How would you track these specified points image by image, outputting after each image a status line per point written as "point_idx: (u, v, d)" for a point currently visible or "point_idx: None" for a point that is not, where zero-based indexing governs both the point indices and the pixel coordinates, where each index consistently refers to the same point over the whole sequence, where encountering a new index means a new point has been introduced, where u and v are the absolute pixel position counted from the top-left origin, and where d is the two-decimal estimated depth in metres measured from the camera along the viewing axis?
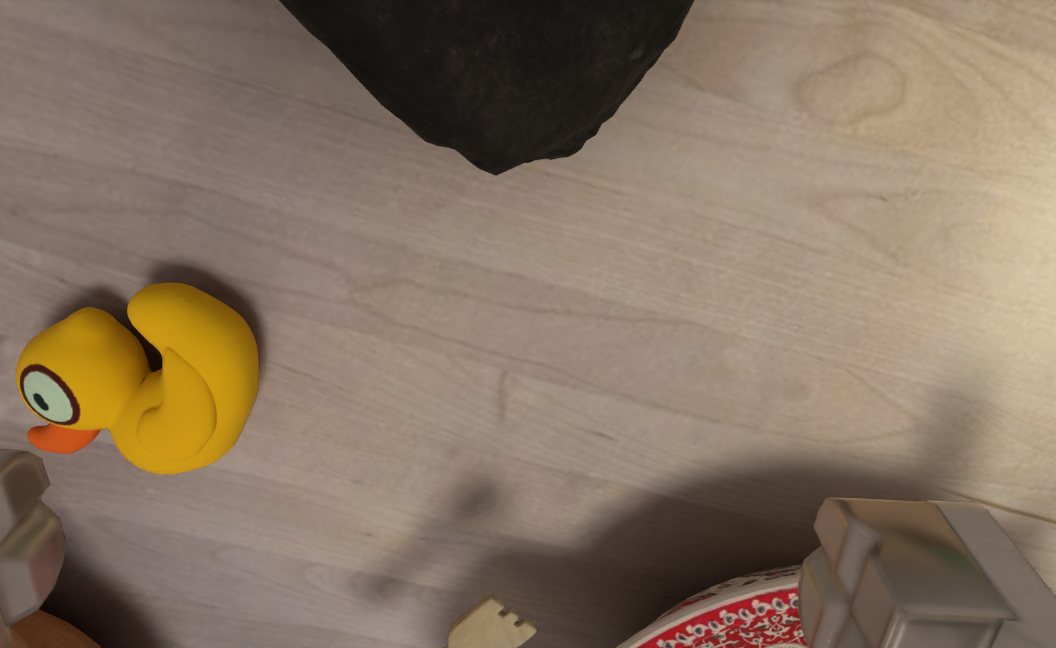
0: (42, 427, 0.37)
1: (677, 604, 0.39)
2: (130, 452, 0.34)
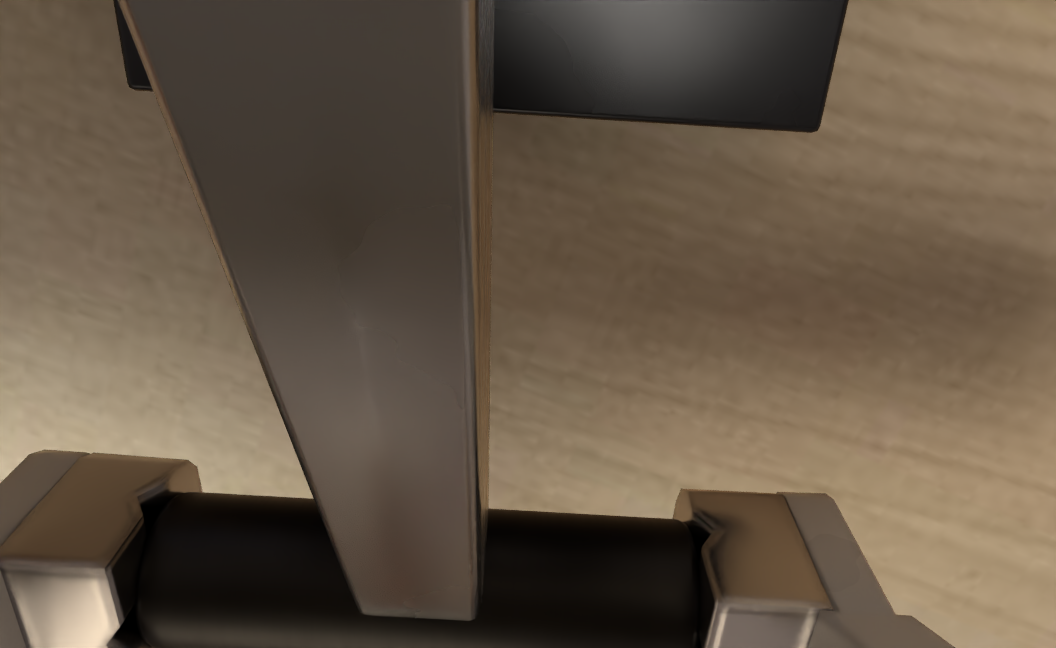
0: None
1: None
2: None
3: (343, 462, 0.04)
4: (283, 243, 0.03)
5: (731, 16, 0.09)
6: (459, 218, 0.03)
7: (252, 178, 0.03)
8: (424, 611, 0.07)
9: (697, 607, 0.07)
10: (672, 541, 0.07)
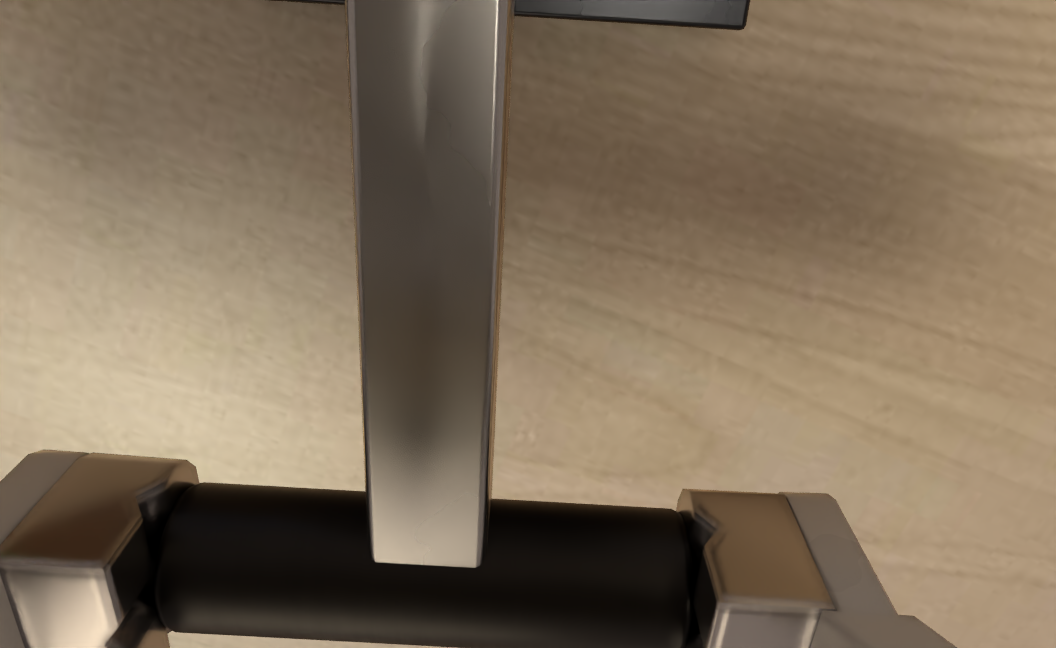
0: None
1: None
2: None
3: (393, 282, 0.06)
4: (392, 26, 0.05)
5: None
6: (500, 2, 0.05)
7: None
8: (432, 554, 0.07)
9: (688, 555, 0.07)
10: (660, 511, 0.08)
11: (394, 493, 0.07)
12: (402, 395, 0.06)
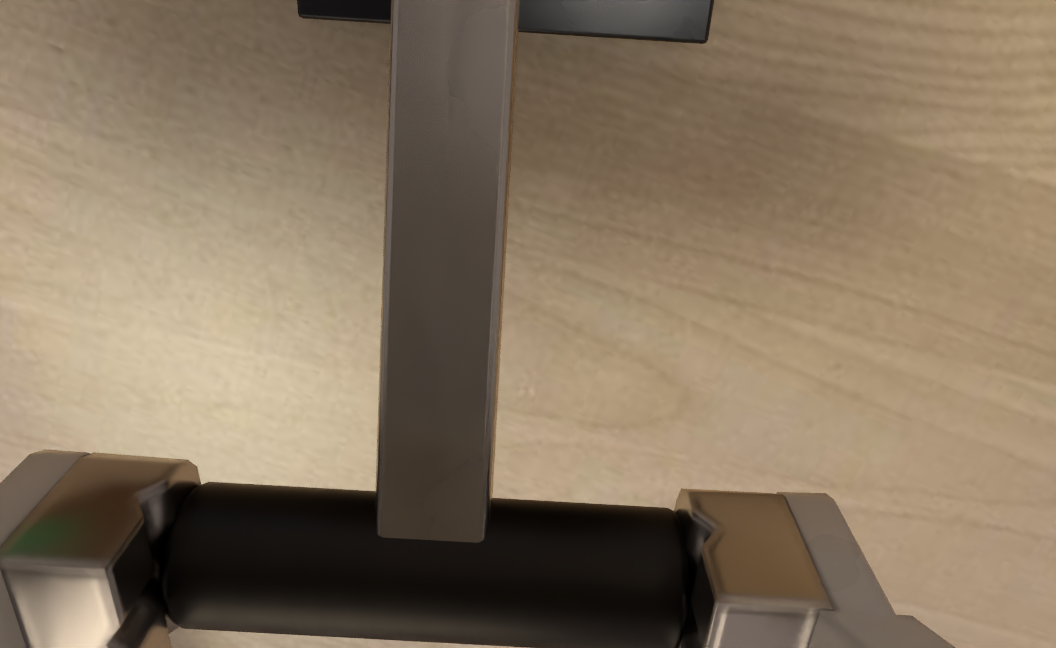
0: None
1: None
2: None
3: (415, 244, 0.07)
4: (427, 34, 0.07)
5: None
6: (508, 15, 0.07)
7: None
8: (437, 526, 0.07)
9: (681, 533, 0.07)
10: None
11: (404, 458, 0.07)
12: (417, 354, 0.07)
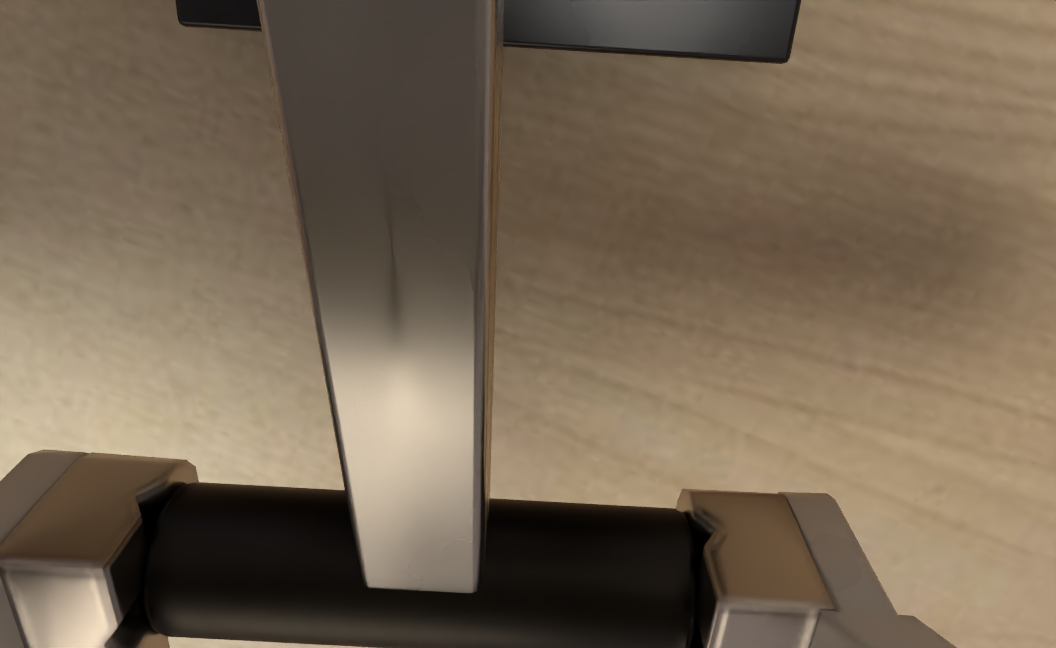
0: None
1: None
2: None
3: (364, 365, 0.05)
4: (336, 99, 0.04)
5: None
6: (481, 68, 0.04)
7: (316, 29, 0.03)
8: (427, 583, 0.07)
9: (694, 579, 0.07)
10: (667, 520, 0.07)
11: (382, 538, 0.06)
12: (383, 462, 0.06)
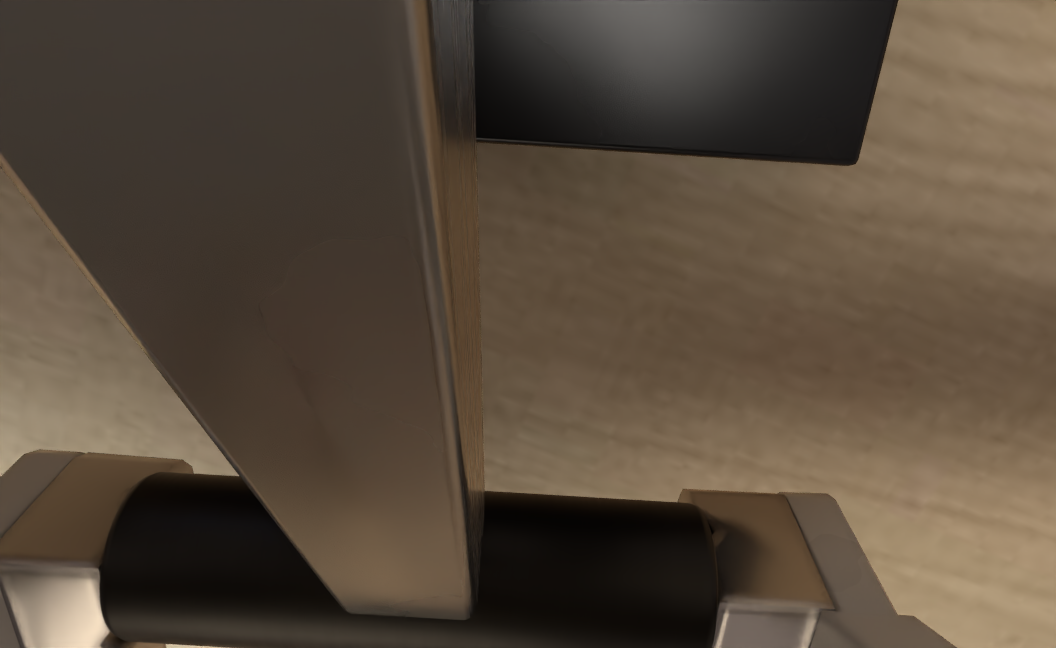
0: None
1: None
2: None
3: (303, 495, 0.04)
4: (177, 278, 0.02)
5: (758, 34, 0.08)
6: (418, 248, 0.02)
7: (113, 201, 0.02)
8: (414, 613, 0.06)
9: (713, 607, 0.06)
10: (687, 533, 0.06)
11: (358, 591, 0.05)
12: (347, 552, 0.05)
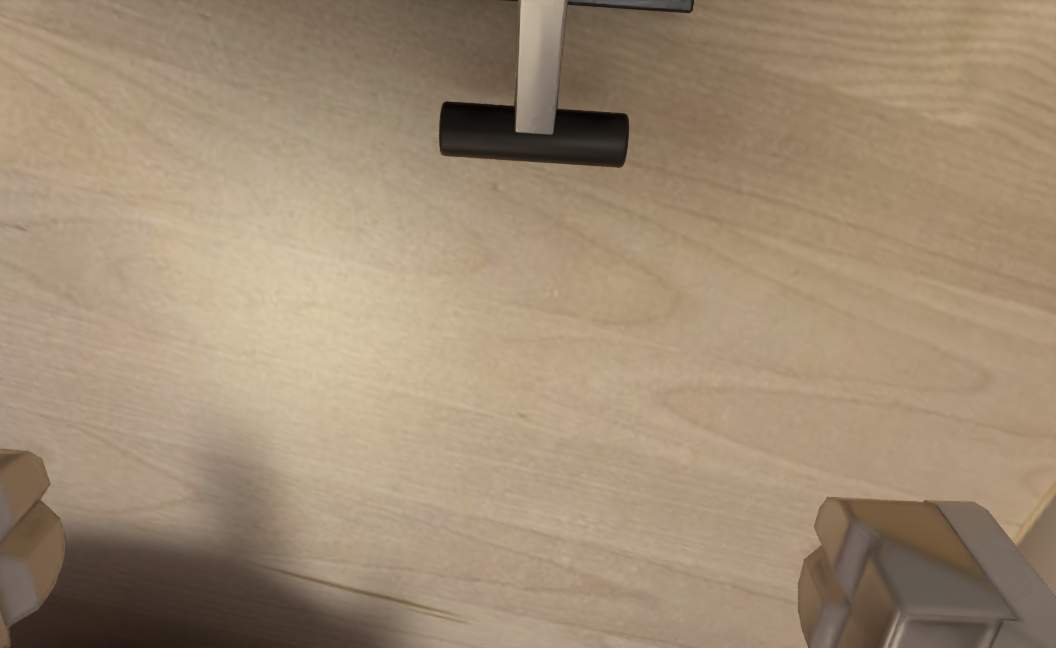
0: None
1: None
2: None
3: (529, 41, 0.18)
4: None
5: None
6: None
7: None
8: (536, 129, 0.20)
9: (627, 131, 0.20)
10: (620, 114, 0.20)
11: (524, 108, 0.19)
12: (529, 76, 0.19)
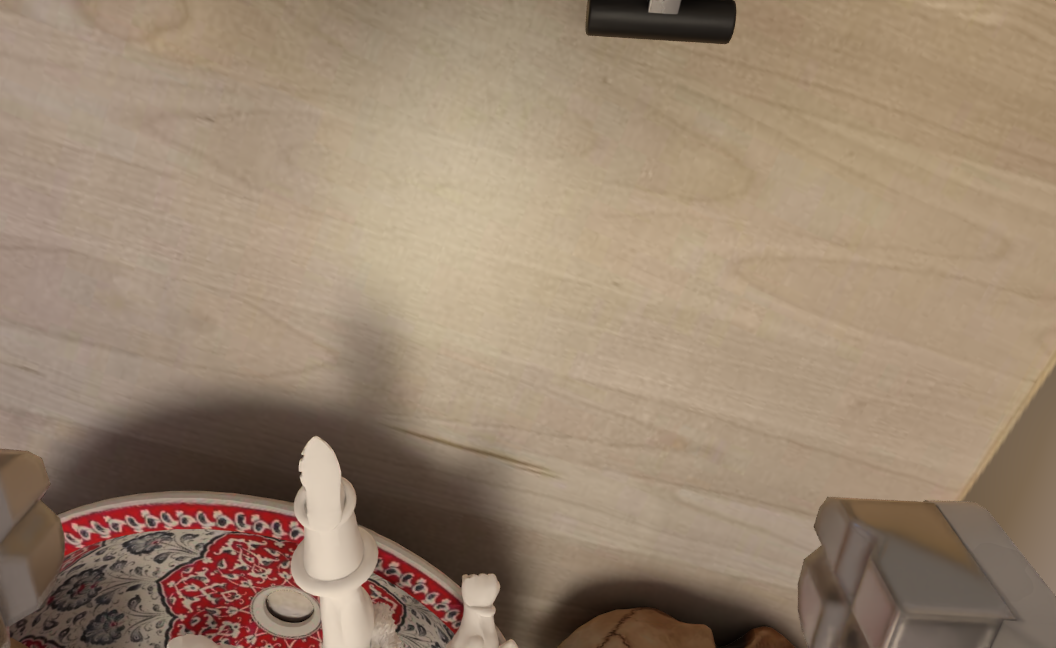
0: None
1: None
2: None
3: None
4: None
5: None
6: None
7: None
8: (665, 10, 0.26)
9: (735, 11, 0.26)
10: None
11: None
12: None
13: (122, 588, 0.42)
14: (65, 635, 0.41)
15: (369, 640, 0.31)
